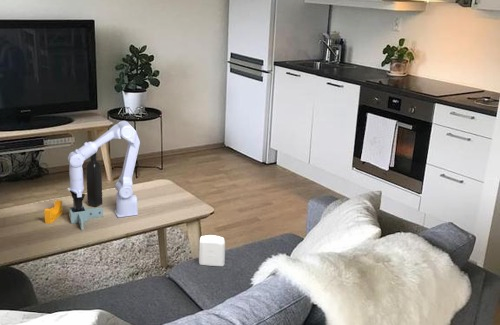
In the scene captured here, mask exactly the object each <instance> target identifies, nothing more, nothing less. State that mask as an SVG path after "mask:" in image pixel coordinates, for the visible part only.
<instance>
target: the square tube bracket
mask: <svg viewBox="0 0 500 325" xmlns="http://www.w3.org/2000/svg"><path fill="white" fill-rule="evenodd" d="M102 217H104V207H103V206H102V207H101V206H100V207H99V206H98V207H93V208H87V207H86V205H85V204H84V205H83V211H80V212H74V208H73V206H68V218H69V220H70V223H71V224H79V227H80V230H81V231H84V228H85V227H84V223H87V222H89V219H95V218H102Z"/></svg>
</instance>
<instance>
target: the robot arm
mask: <svg viewBox="0 0 500 325" xmlns="http://www.w3.org/2000/svg"><path fill="white" fill-rule="evenodd" d="M122 138H123V139H124V140H125V141H127V142H126V143H127V146H126V147H127V148H126V152H125V155H124V156H125V157H124V160H123V166H122V171H121V175H120V176H119V177H118V180H117V182H116V183H115V186H114V187H115V190H116V191H117V193H116V195H115V196H116V198H115V199H116V200H115V203H116V205H115V206H116V209H114V213H115V215H116V217H117V218H124V217H133V216H138V215H139V213H138V197H137V195H136V194H134V191H133V184H134V183H133V177H134V176H133V175H134V171H135V166H136V162H137V158H138V155H139V154H138V153H139V148H140V145H141V140H140V138H139V136H138V132H137V130H135V128H134V127H133V126H132V125H131V124H130V123H129V122H128V121H127V120H121V121H119V122H118V123H116V124H114V125H113V126H112V127H111V128H110V129H108V130H107V131H105V133H103V134H101V135H100V136H99V137H98V138H97V139H95V140H93V141H88V142H87V141H85V142H84V143H83V145H82V146H81V147H79V148H76V149H75V150H74V151H71V152H69V154H68V156H67V160H68V162H69V167H68V168H69V169H68V172H69V187H67V191H69V192H70V194H71V197H72V200H73V199H74V202H75V206H76V209H81V207H82V203H83V201H84V198H85V196H86V194H85V193H83V192H84V190H85V186H84V171H83V170H84V169H83V164H84V162H85V161H86V160H88V159H89V158H90V157H91V156H92V155H93V154H95V153H96V154H97V153H98V149H99V148H100V147H102V146H103V145H105V144H107V143H108V142H110V141H112V140H113V139H118V140H121V139H122Z"/></svg>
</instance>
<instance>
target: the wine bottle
mask: <svg viewBox="0 0 500 325" xmlns="http://www.w3.org/2000/svg"><path fill="white" fill-rule="evenodd" d="M89 158H90V159H89V161H88V162H87V163H86V166H85V175H86V176H85V177H86V198H87V200H86V201H87V205H88V206H89V207H93V208H98V207H99V206H101V205H103V179H102V178H103V176H102V174H103V172H102V165H101V163H100V161H98V159H97V152H96V153H95V154H93V155H92V156H91V157H89Z"/></svg>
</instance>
